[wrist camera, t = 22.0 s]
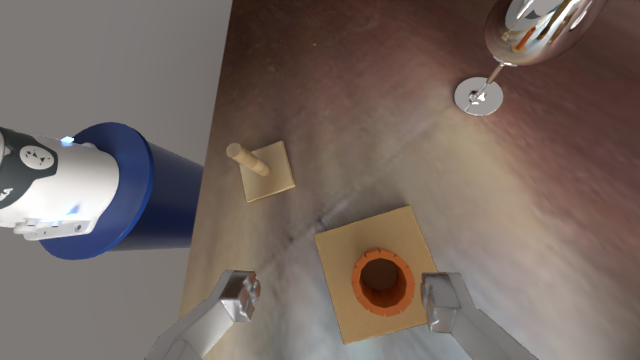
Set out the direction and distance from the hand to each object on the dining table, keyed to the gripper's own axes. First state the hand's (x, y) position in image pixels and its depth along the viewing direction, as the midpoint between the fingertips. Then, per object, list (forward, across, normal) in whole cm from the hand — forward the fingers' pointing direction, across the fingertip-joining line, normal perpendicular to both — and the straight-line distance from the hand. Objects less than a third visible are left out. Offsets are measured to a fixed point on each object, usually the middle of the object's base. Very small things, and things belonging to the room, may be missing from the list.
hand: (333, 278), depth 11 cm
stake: (+25, +14, +7) cm, 29 cm away
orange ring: (+13, -3, +17) cm, 21 cm away
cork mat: (+14, -3, +17) cm, 22 cm away
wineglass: (+31, -19, 0) cm, 37 cm away
